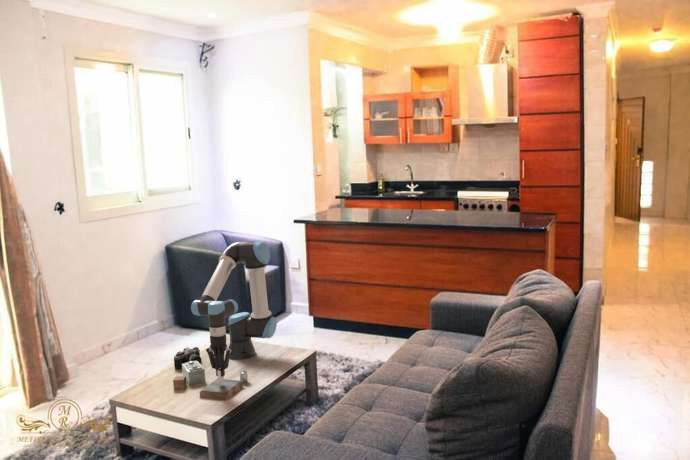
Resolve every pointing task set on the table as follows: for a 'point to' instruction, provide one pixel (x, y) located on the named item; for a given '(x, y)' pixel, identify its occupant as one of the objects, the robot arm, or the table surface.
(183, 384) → the walnut block
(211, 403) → the table surface
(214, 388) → the grey brown flat block
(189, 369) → the housing
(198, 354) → the camera
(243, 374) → the steel cup
